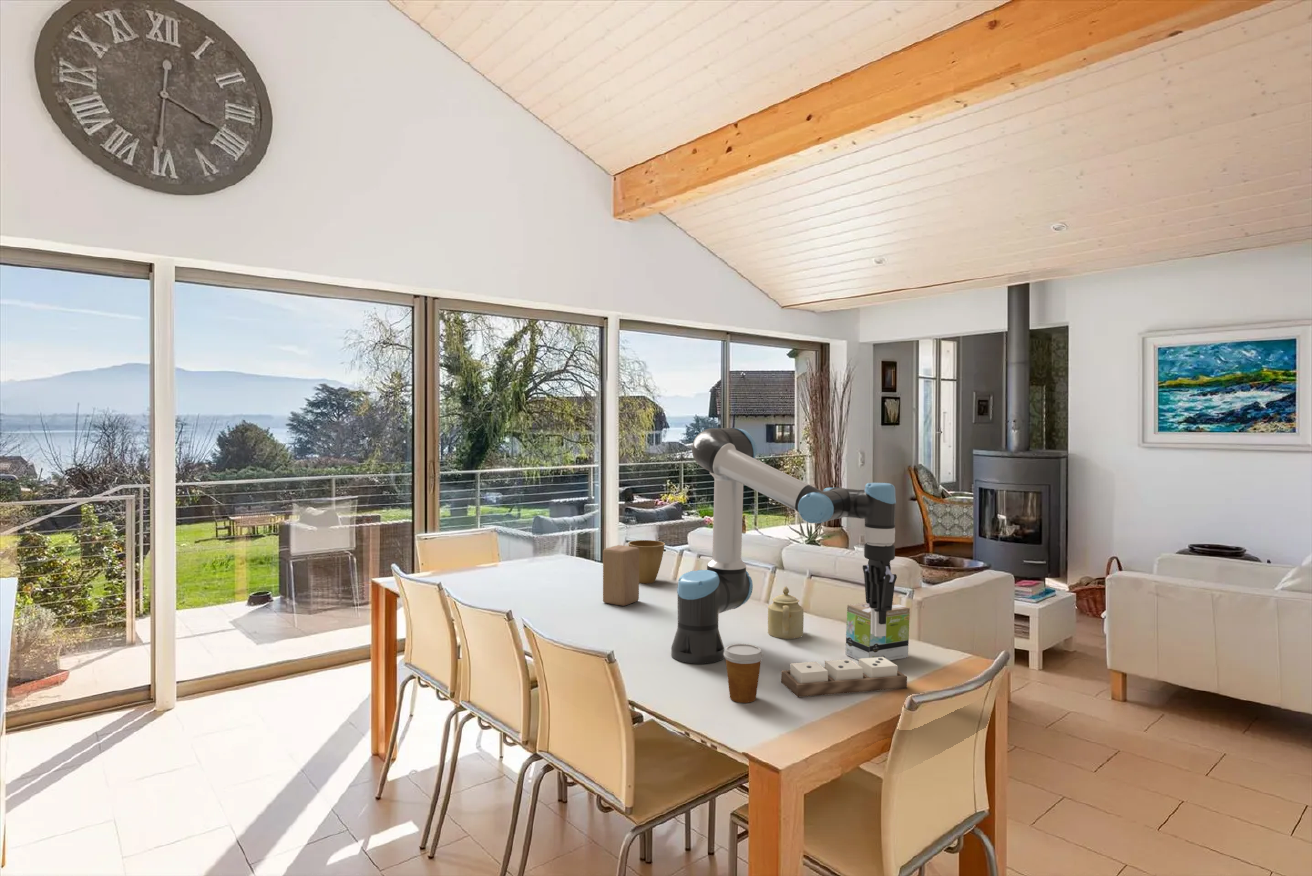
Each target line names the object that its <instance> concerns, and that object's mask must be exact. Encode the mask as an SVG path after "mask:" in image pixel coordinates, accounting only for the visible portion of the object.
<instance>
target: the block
mask: <svg viewBox="0 0 1312 876" xmlns="http://www.w3.org/2000/svg"><path fill="white" fill-rule="evenodd" d="M639 600H640V583H639V548H637V547H630V546H629V545H622V544H621V545H620V544H618V545H614V546H609V547H606V548H604V549H603V550H602V601H603V603H605V604H610V605H611V604H612V605H616V606H622V607H625V606H628V605H630V604H633V603H636V602H638V601H639Z"/></svg>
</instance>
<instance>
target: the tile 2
mask: <svg viewBox="0 0 1312 876" xmlns="http://www.w3.org/2000/svg"><path fill="white" fill-rule="evenodd" d="M824 667H825V669H826V670H827V671H828V675H829V676H830V677H832V678H833V679H834V680H836V681H837V680H850V679H863V668H862V667H860V666H859V664H857V663H856V662H854V661H853V660H852V659H848V658H847V659H835V660H834V659H833V660H824Z"/></svg>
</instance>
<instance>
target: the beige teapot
mask: <svg viewBox="0 0 1312 876" xmlns="http://www.w3.org/2000/svg"><path fill="white" fill-rule="evenodd" d="M782 593H783V594H779V595H776V596H775V597H773V598H772V603H771V604H769V605H768V606H767V633H768V635H769V636H771V637H773V638H777V639H784V640H785V639H786V640H790V639H793V640H794V638H795V639H799V638H802V637H803V636H804V613H805V612H804V607H803V606H802V605H800V604H799V602H800V600H799V599H798V598H796V597H795V596H794V595H790V594H789V593H790V589H789V588H788V587H787V586H784V587H783V589H782ZM801 636H802V637H801Z"/></svg>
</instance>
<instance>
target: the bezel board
mask: <svg viewBox="0 0 1312 876" xmlns="http://www.w3.org/2000/svg"><path fill="white" fill-rule="evenodd" d="M824 668H825V666H824ZM780 676H781V677H780V679H781V681H780V682H781V684H783V685H784V687H786V688H787V689H788V691H790V692H791V693H792V694H793V695H794V696H796V697H797V698H803V697H804V698H807V697H819V696H820V697H821V696H831V695H842V694H844V695H845V694H853V693H854V694H855V693H856V694H857V693H867V692H879V691H890V690H891V691H892V690H903V689H904V690H905V689H908V676H907V675H905V674H904V673H902V672H901V671H899V670H897V676H889V677H876V678H870V677H869V676H867V675H866V674H864V673H863V679H850V680H837V681H836V680H834V679H833V678H832V677H830V676H829V675H828V681H824V682H812V683H799V682H798V681H797V680H795V679H794V678H793V677H792V676H791V675H790V669H786V670H781V671H780Z"/></svg>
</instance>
